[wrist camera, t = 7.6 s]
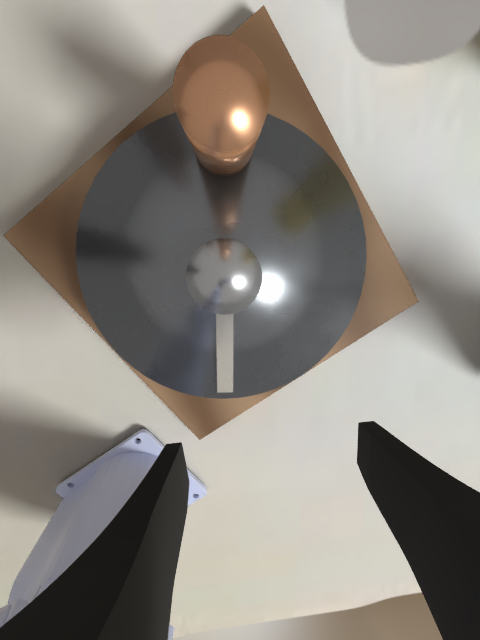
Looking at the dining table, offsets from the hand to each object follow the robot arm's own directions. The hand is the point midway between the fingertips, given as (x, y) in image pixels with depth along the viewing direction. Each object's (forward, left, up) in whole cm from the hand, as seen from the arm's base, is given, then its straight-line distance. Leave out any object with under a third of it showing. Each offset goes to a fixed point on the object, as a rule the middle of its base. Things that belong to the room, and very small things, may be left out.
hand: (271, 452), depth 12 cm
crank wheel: (+2, +6, -8) cm, 10 cm away
